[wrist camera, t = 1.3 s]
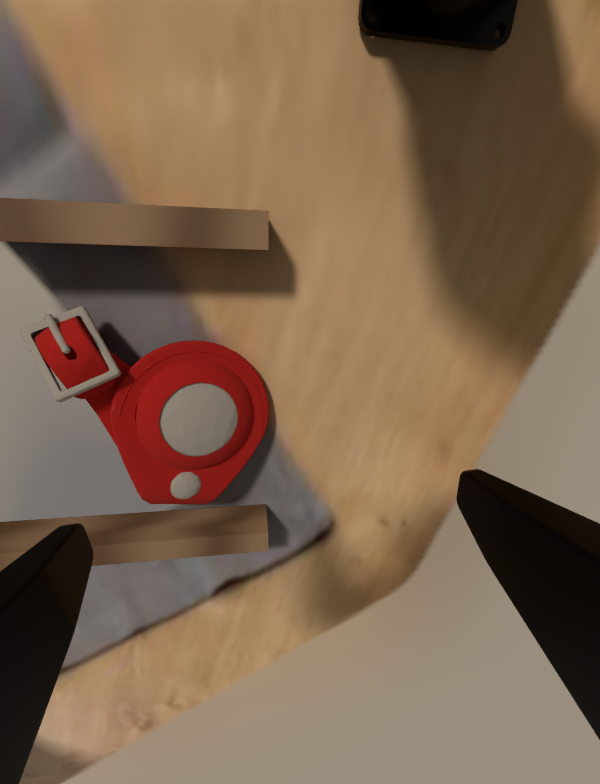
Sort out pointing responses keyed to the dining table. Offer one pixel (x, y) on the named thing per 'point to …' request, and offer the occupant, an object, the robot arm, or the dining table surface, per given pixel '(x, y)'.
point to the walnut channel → (141, 228)
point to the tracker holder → (160, 405)
